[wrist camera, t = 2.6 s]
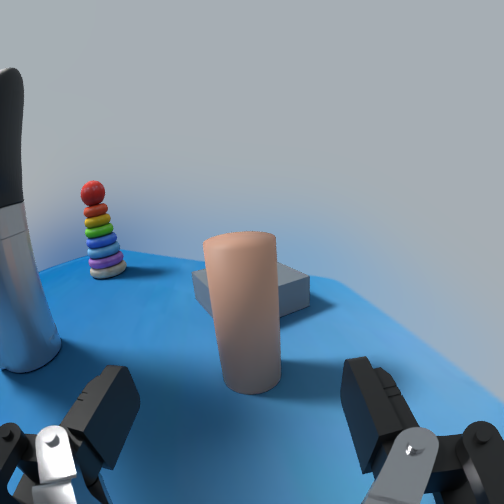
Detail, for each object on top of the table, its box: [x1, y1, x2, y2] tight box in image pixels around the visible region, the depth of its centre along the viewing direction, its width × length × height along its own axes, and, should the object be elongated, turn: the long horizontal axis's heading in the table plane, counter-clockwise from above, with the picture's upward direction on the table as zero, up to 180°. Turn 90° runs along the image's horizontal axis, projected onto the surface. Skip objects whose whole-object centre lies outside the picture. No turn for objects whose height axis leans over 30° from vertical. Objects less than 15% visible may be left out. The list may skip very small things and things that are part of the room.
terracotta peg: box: [203, 231, 281, 394], centre depth 21 cm, size 5×5×12 cm
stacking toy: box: [81, 181, 126, 278], centre depth 49 cm, size 8×8×19 cm
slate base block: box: [192, 262, 310, 318], centre depth 36 cm, size 11×11×4 cm
